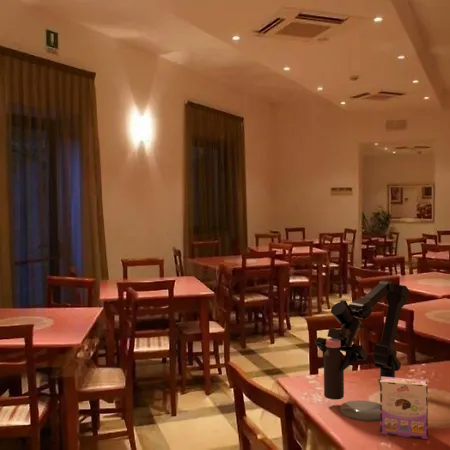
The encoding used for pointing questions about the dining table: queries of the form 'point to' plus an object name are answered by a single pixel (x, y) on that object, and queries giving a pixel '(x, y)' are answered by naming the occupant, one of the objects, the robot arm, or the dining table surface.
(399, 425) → the candy box
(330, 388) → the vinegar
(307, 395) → the dining table surface
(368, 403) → the plate
